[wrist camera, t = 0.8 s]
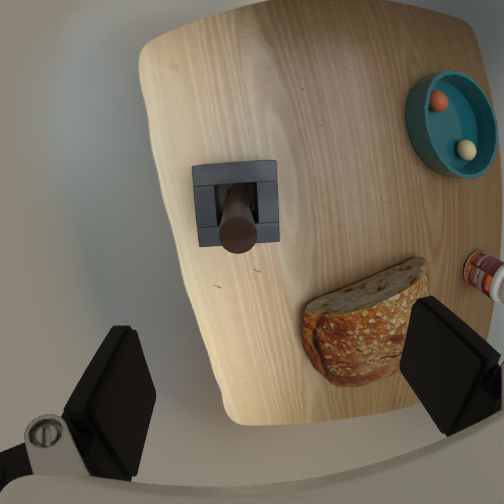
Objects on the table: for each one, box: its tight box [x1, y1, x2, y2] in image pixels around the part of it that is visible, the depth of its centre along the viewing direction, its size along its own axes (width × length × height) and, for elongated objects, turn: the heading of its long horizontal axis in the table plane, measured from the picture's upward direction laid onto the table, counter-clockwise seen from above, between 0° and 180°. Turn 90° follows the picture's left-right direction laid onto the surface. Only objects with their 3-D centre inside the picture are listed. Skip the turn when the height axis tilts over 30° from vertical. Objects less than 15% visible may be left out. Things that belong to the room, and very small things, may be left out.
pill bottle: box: [464, 251, 504, 303], centre depth 36 cm, size 6×6×11 cm
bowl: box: [406, 70, 498, 179], centre depth 32 cm, size 15×15×5 cm
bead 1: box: [429, 90, 448, 112], centre depth 31 cm, size 3×3×3 cm
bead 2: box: [457, 139, 476, 161], centre depth 33 cm, size 3×3×3 cm
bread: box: [302, 257, 429, 388], centre depth 38 cm, size 20×18×10 cm
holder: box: [192, 160, 280, 247], centre depth 32 cm, size 8×8×8 cm
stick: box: [219, 186, 257, 254], centre depth 27 cm, size 2×2×20 cm
